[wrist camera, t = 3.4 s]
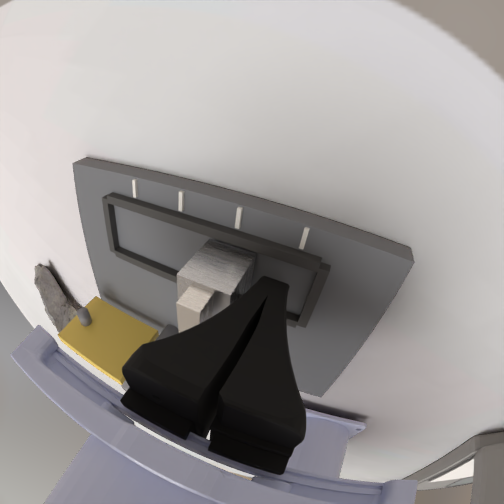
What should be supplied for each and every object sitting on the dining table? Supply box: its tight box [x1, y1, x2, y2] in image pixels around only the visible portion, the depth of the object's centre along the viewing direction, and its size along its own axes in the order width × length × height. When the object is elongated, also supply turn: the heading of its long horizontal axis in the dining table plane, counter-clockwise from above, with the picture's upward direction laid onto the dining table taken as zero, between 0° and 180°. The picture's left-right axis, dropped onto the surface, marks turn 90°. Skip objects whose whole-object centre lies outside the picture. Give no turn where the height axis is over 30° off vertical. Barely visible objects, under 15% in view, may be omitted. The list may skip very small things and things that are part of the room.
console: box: [73, 158, 414, 397], centre depth 14 cm, size 13×20×7 cm, turn 81°
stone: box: [35, 265, 78, 355], centre depth 26 cm, size 6×12×4 cm, turn 33°
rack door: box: [58, 297, 159, 385], centre depth 17 cm, size 2×7×5 cm, turn 81°
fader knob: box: [176, 239, 256, 333], centre depth 12 cm, size 3×2×4 cm
